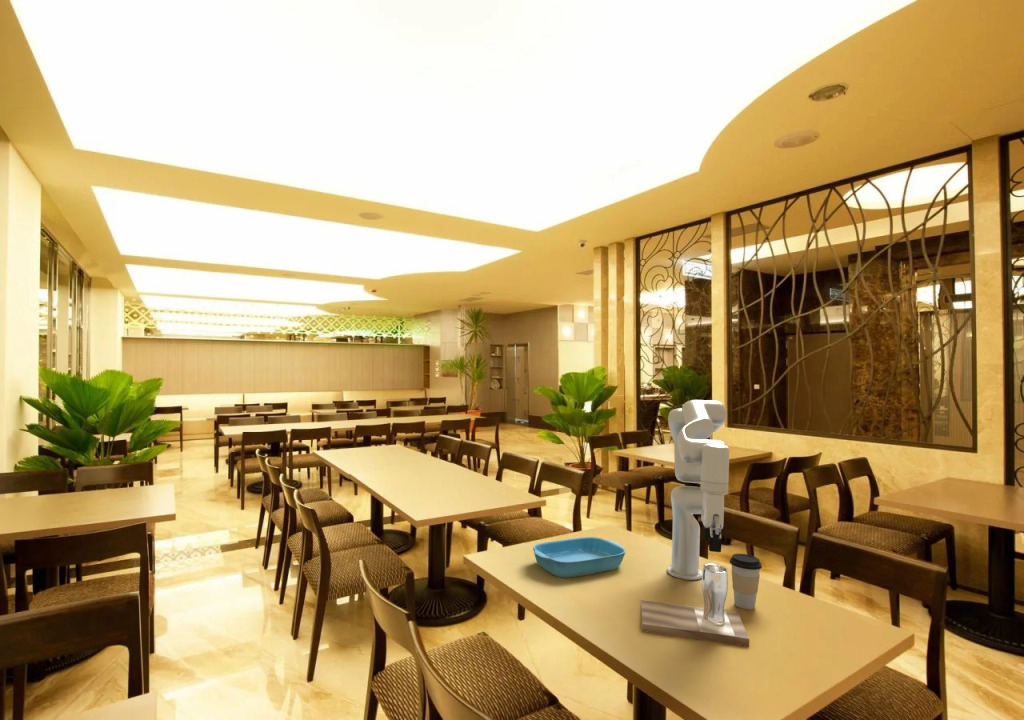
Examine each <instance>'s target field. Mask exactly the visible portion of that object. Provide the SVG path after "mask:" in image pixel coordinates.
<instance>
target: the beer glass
mask: <svg viewBox="0 0 1024 720" xmlns="http://www.w3.org/2000/svg"><path fill="white" fill-rule="evenodd" d="M702 572H703V573H702V578H701V589H702V590H701V591H702V597H703V608H704V612H703V617H702V618H703V620H704V621H705V622H707V623H709V624H712V625H723V624H725V617H724V611H725V603H726V600H727V596H728V590H729V588H728V586H729V582H728V581H729V577H728V568H727V567H726V566H723V565H720V564H717V563H706V564H703V566H702Z"/></svg>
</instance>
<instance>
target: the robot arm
mask: <svg viewBox="0 0 1024 720" xmlns="http://www.w3.org/2000/svg"><path fill="white" fill-rule="evenodd" d="M726 409H727V408H726V407H725V405H724V404H723V403H722V402H721V401H719V400H710V399H709V400H708V399H707V400H704V399H691V400H687V401H686V402H685V403H684V404H683V405H682V406H681V407H680V408H679V407H678V408H675V409H674V408H673V409H671V410H670V411H669V413H668V416H667V417H668V418H667V420H668V423H667V424H668V430H669V433H670V435H671V438H672V440H673V449H674V450H673V451H674V452H673V453H674V457H673V458H674V474H675V475H674V476H675V477H676V480H677V481H679V482H683V483H693V484H700V486H692V485H679V486H676V487H673V489H672V490H671V492H670V503H671V513H672V532H671V533H672V535H671V536H672V539H671V564H669V565H668V566H667V567H666V572H667V573H668V574H669V575H670V576H672V577H675V578H677V579H681V580H688V581H696V580H697V579H698V580H702V573H703V570H701V569H700V545H701V544H700V542H701V541H700V540H701V538H700V537H701V527H700V524H699V521H698V520H697V519H696V518H695V516H694V515H701V517H700V519H701V522H702V524H703V527H704V531H703V535H704V536H703V537H704V541H708V551H709V552H714V553H721V552H722V540H723V539H722V530H723V528H724V520H725V518H724V517H725V516H724V515H725V496H726V495H728V494H729V478H730V477H729V475H730V474H729V473H730V471H729V470H730V449H729V446H728V445H727V443H726V442H725V441H723V440H718V439H709V438H710V437H711V436H712V434H713V433H715V432H717V431H718V430H719V429H720V428H722V427H723V425H725V423H726V421H727V410H726Z"/></svg>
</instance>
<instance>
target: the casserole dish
mask: <svg viewBox="0 0 1024 720" xmlns="http://www.w3.org/2000/svg"><path fill="white" fill-rule="evenodd" d="M532 549H533V553H534V557H535V560H536V562H537V565H539V566H540V567H541V568H542V569H544V570H546V572H548V573H551V574H552V575H554V576H556V577H559V578H563V577H564V578H565V577H567V578H574V577H575V576H576V577H581V575H582V576H587V575H586V574H588V575H591V574H598V573H597V572H599V573H603V572H602V571H604V572H608V571H607V570H609V571H613V570H615V568H616V569H617V568H618V567H620V565H621V564H622V562H623V560H624V557H625V555H626V553H627V552H626V551H627V549H625V548H624V547H623V546H622V544H620V543H619V542H616V541H614V540H611V539H605V538H602V537H595V536H585V537H584V536H582V537H581V536H580V537H574V538H565V539H561V540H560V539H559V540H552V541H545V542H539V543H536V544H534V545H533V546H532ZM612 569H613V570H612Z"/></svg>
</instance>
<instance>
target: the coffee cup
mask: <svg viewBox="0 0 1024 720" xmlns="http://www.w3.org/2000/svg"><path fill="white" fill-rule="evenodd" d="M729 564H730V565H731V581H732V582H731V583H732V589H733V598H734V599H733V601H734V605H735V606H736V607H739V608H740V609H743V610H753V609H755V608H756V602H757V601H756V600H757V594H758V589H759V583H760V571H761V569H763V567H762V563H761V562H760V558H758V557H757V556H754V555H752V554H748V553H747V554H746V553H734V554H732V556H731V557H730V558H729Z"/></svg>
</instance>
